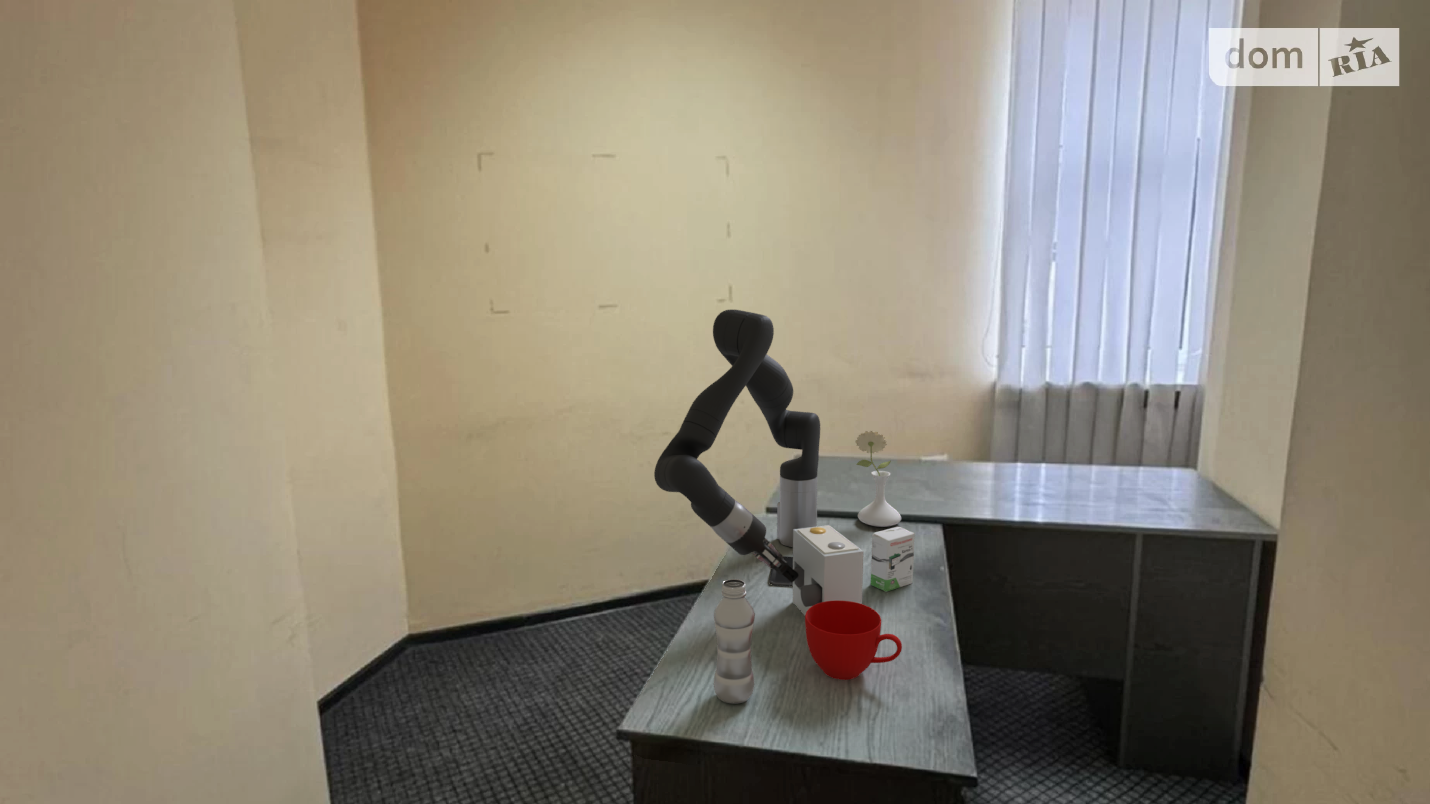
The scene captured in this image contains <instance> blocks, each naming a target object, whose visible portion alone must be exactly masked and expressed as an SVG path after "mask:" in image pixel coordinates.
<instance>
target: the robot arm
mask: <svg viewBox="0 0 1430 804" xmlns="http://www.w3.org/2000/svg"><path fill="white" fill-rule="evenodd" d="M774 329H775V328H774V323H773V321H772V320H771V318H770V317H769V316H767V315H764V314H760V313H756V312H751V311H745V310H741V309H725V310H723V311H721V312H719V313H718V315H717V316H716V318H715V319H714V321H713V326H712V337H713V341H714V344H715V347H716V348H717V350H718V351H719V353H720V354H721V355H722V356H723V358H725V359H726V361H727V362H728V363H729V364H730V365H731V366H730V368H729V369H728V370H727V371H726V372H725V373H724V374H723V375H721V376H720V377H719V378H718V379H716V380H715V381H714V382H713V383H710V385H709V386H707V387H706V388H705V389H703V390H702V391H701V392H700V393H699V395H698V396H696V397H695V399H694V400H693V402H692V404H691V405H690V407H689V409H688V410H687V412H686V415H685V417H684V420H683V422H682V423H681V426H680V428H679V430H678V432H677V433H676V434H675V435H674V437H673V438H671V440H670V442H669V443H668V444H667V446H666V447H665V449H664V450H663V451H662V453H661V454H660V456H659V458H658V459H657V462H656V465H655V467H654V473H653V476H654V481H655V483H656V485H657V486H658V488H659V489H661V490H662V491H665V492H666V493H667V492H668V493H679V494H681V495H682V496H684V497H685V498H687V499H688V501H689V502H690V506H691V509H692V511H693V512H694V513H695V514H696V515H697V517H699V518H700V520H702V521H703V522H704V523H706V524H707V525H708V526H709V527H710V528H711V529H712V530H713V532H714V533H715V534H716V535H717V536H718V537H719V538H721V539H722V540H723V541H724V542H725V543H726V544H727V545H728V546H730V547H731V549H733V550H734V551H735V552H737V554H739V555H741V556H748V555H750V554H753V555H754V556H755V558H757V559H758V560H759V561H760V562H762V563H764V564H765V566H768V568H769V569H771V570H772V569H774V570H776V571H777V572H778V573H779V574H782V575H784V576H785V577H786V578H787V579H788V580H789V581H790V582H794V581H795V579H796V578H797V577H798V573H797V572H796V571H795V570H794V569H793V568H791V567H790V566H789V565H788V563H787V562H786V561H785V560H784V559H783V558H782V556H783V555H782V554H781V553H780V552H779V550H777V549H776V548H775V545H773V543H772V542H770V541H769V540H768V538H766V535H767V527H766V526H765V524H764V523H763V522H762V521H761V520H760V519H758V517H756V516H755V515H754V514H753V513H752V511H750V510H749V509H748V508H747V507H745V505H743V504H742V503H741V502H739V501H738V500H737V499H735V498H733V496H731V495H730V494H729V493H728V492H727V491H726V490H725V489H723V488H722V486H720V485H719V484H718V482H717V481H716V479H715V478H714V476H713V475H712V474H711V472H710V471H709V470H708V468H707V467H706V466H705V465H704V464H703V463H702V462H701V461H700V460H699V457H700V456H701V454H703V453H705V452H706V451H709V450H710V449H711V448H712V446H713V444H714V443H715V441H716V438H717V436H718V435H719V432H720V430H721V428H722V426H723V423H724V422H725V420H726V417H727V416H728V414H729V412H730V410H731V408H732V406H733V405H734V404H735V401H736V400H737V399H738V398H739V395H740V394H741V393H742V391H743V390H744V389H745V387H746V389H747V390H748V392H749V394H750V396H751V398H752V399H753V401H754V402H755V404H756V405H757V406H758V408H759V410H760V411H761V414H762V415H763V417H764V419H765V420H766V422H767V425H768V428H769V430H770V433H771V435H772V438H773V440H774V442H775V443H776V444H777V446H779V447H782V448H785V449H792V450H793V449H794V450H801V456H799V457H796V458H791V459H789V460H785V461H783V462H782V463H781V464H780V466H779V502H778V503H777V505H776V506H777V507H776V508H777V509H776V510H777V514H776V516H777V517H776V518H777V519H776V522H777V523H776V525H777V526H776V527H777V529H776V539H777V540H778V541H779V543H780V544H781V545H783V546H785V547H790V548H793V529H800V528H808V527H817V526H818V524H817V523H818V470H819V469H818V467H819V457H820V455H819V451H820V441H821V440H820V438H821V421H820V417H819V415H818V414H816V413H815V412H809V411H797V410H788V408H789V405H790V404H791V402H792V399H793V396H794V387H793V383H792V381H791V380H790V377H789V376H788V374H787V372H786V370H785V369H784V367H783V366H782V365H781V364H780V363H779V362H778V361H776V360H775V359H774V358H772V357H771V356H770V355H769V354H768V352H769V350H770V348H771V346H772V342H773V340H774V334H775V333H774V332H775V331H774Z"/></svg>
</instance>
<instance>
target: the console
mask: <svg viewBox="0 0 1430 804" xmlns="http://www.w3.org/2000/svg"><path fill="white" fill-rule="evenodd" d="M792 557H793V569H794V568H795V567H801V568H803V569H804V585H810V584H817V583H818V584H819V585H820V586H821V587H822V602H826V601H836V600H838V601H851V602H856V603H860V604H863V583H864V582H863V580H864V578H863V577H864V550H863V549H861V548H860V547H859V546H858V545H856V544H855V543H853V541H851V540H849V538H847V537H845V536H844V535H843V534H841V532H839V531H837V530H836V529H835V528H834V527H832V526H831V525H830V524H826V525H817V527H808V528H800V529H793V547H792ZM792 604H793V605H794V604H795V605H796V606H797V607H798V608H799V609H798V608H797V607H796V606H795V605H794V606H795V607H796V608H797V609H798V611H800V610H801V611H800V612H801V613H802V615H803V616H805V615H806V612H807V610H808V609H809V608H810V607H812V606H809V607H805V606H804V605H803V603H802V600H801V587H797V586H796V584H795V582H793V587H792Z"/></svg>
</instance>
